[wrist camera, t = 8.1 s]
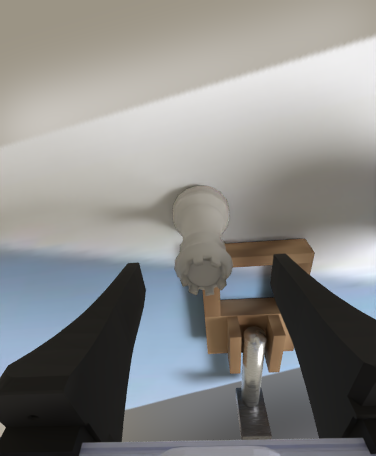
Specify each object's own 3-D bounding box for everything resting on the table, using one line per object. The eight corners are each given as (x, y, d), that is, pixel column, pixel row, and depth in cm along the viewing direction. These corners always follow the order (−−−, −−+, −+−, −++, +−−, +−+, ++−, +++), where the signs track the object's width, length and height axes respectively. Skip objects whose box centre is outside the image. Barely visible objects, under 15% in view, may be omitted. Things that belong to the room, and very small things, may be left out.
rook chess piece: (161, 212, 20) (145, 282, 13) (197, 171, 18) (200, 228, 11) (202, 241, 21) (207, 318, 15) (240, 206, 20) (265, 275, 13)
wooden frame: (304, 238, 21) (327, 271, 17) (287, 333, 28) (300, 372, 24) (199, 245, 22) (200, 278, 18) (207, 337, 28) (209, 374, 25)
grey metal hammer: (268, 325, 23) (284, 376, 19) (260, 395, 30) (270, 443, 26) (236, 327, 24) (245, 377, 20) (235, 396, 31) (242, 444, 27)
